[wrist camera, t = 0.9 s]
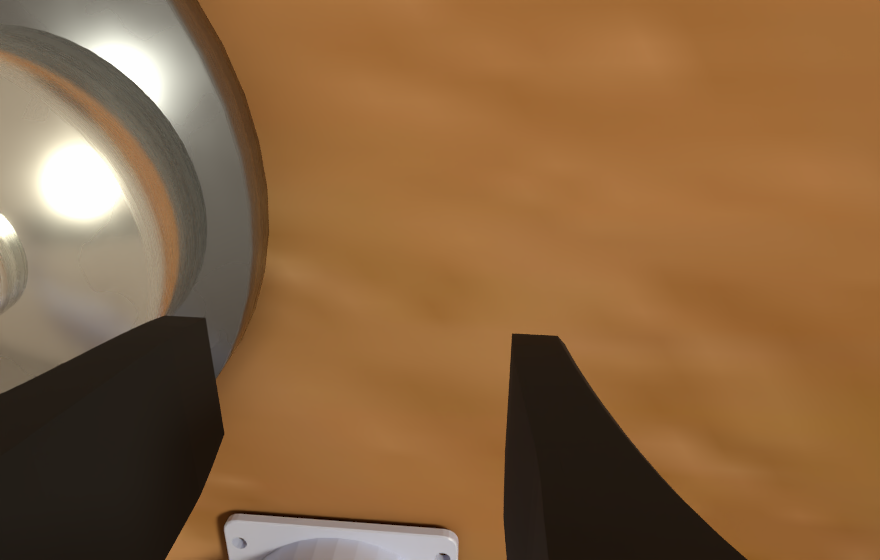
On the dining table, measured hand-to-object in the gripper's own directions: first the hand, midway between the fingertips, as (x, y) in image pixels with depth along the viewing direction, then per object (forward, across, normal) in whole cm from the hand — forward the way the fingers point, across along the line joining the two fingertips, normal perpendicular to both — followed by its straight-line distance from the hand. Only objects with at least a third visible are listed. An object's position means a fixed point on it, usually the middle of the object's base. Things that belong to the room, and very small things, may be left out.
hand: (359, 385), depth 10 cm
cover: (+7, +9, 0) cm, 11 cm away
